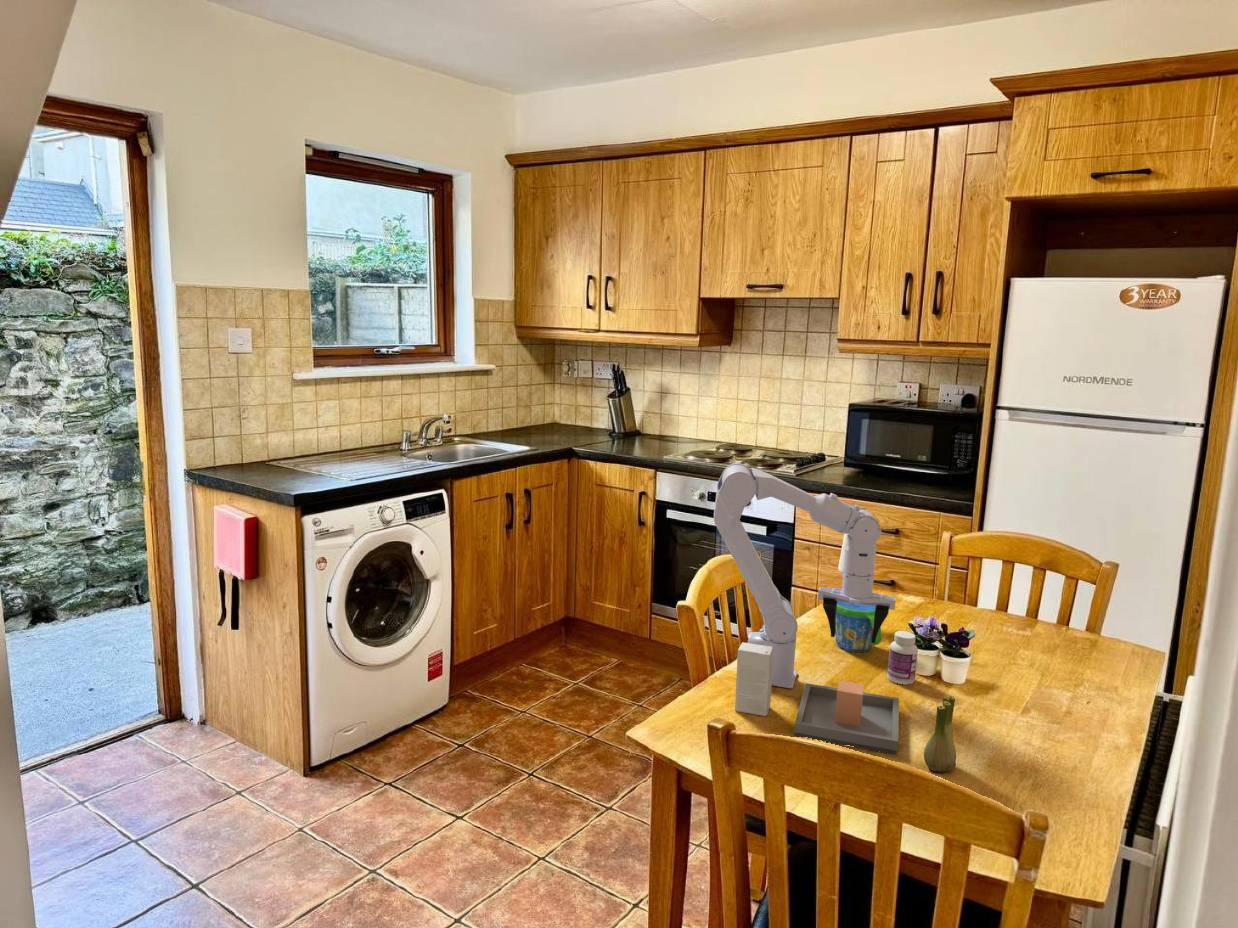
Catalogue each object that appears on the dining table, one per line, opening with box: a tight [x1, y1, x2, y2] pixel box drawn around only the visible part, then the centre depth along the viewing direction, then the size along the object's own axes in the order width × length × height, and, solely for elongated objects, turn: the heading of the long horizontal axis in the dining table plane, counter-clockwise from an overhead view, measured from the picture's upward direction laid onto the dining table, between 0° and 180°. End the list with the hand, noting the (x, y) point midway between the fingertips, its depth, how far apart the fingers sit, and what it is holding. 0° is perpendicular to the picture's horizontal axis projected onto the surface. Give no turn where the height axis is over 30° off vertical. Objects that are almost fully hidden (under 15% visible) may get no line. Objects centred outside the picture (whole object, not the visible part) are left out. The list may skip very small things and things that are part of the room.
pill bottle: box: [886, 630, 919, 686], centre depth 171 cm, size 5×5×10 cm
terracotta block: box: [835, 680, 865, 727], centre depth 153 cm, size 4×4×6 cm
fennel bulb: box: [923, 695, 957, 773], centre depth 139 cm, size 6×5×12 cm
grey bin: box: [793, 682, 900, 756], centre depth 153 cm, size 17×17×2 cm
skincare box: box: [734, 641, 774, 717], centre depth 157 cm, size 6×4×12 cm
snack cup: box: [835, 601, 883, 653], centre depth 187 cm, size 16×10×10 cm
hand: (853, 638), depth 168 cm, fingers open, 7 cm apart
